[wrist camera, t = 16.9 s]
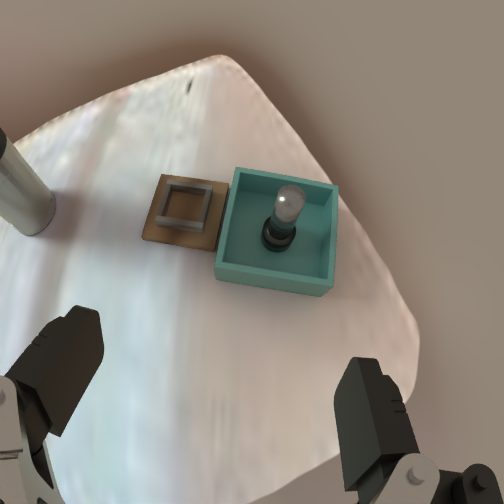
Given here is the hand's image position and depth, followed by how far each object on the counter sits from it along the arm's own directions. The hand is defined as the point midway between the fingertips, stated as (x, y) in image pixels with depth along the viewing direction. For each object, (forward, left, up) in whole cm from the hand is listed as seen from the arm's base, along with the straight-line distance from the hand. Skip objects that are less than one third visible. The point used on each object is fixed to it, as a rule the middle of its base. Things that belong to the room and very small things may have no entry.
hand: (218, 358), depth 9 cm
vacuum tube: (+4, +19, -33) cm, 38 cm away
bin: (+4, +19, -34) cm, 39 cm away
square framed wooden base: (-10, +21, -34) cm, 41 cm away
